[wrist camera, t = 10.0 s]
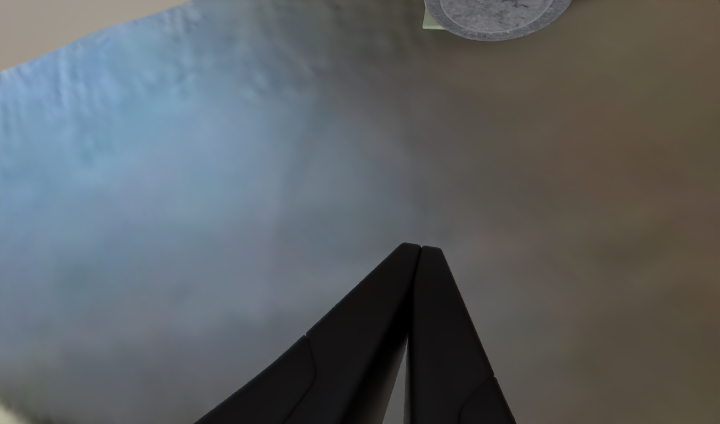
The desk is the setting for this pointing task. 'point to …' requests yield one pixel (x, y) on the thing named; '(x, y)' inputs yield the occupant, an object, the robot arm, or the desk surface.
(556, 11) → the camera lens
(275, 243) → the desk surface
